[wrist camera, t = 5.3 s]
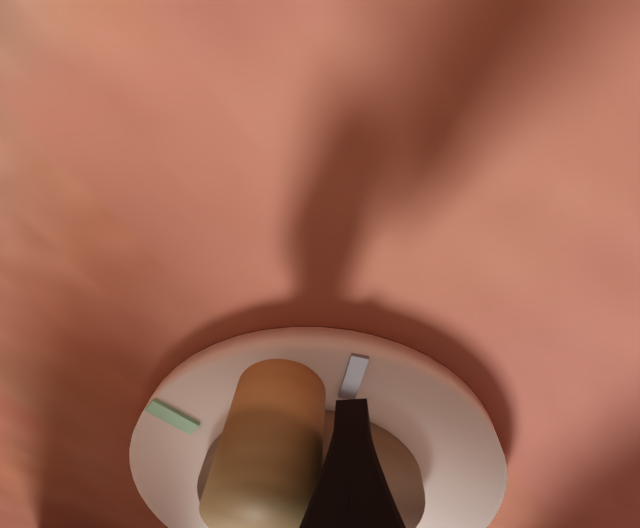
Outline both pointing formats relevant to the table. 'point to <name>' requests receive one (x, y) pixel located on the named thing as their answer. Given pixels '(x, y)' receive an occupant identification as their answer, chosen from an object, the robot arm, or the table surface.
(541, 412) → the table surface
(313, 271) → the table surface
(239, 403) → the dial
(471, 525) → the base
